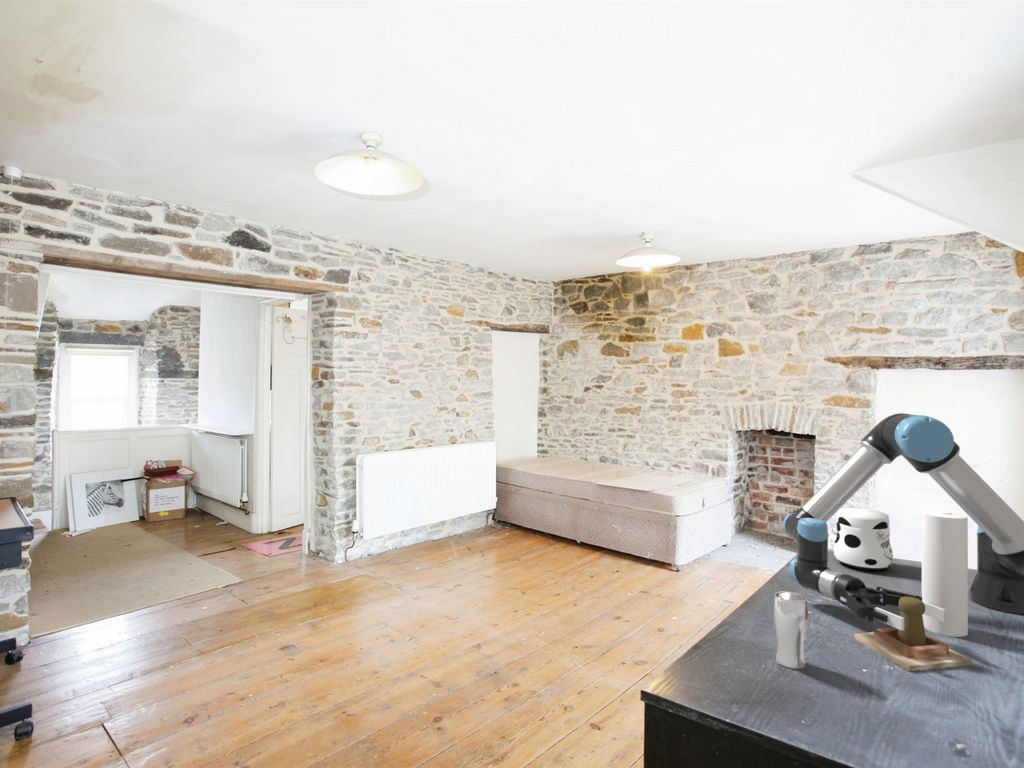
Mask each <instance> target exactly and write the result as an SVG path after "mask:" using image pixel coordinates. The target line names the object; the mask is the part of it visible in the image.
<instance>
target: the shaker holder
mask: <svg viewBox="0 0 1024 768" xmlns="http://www.w3.org/2000/svg"><path fill="white" fill-rule="evenodd" d="M897 635H898V629H897V628H895V627H892V626H891V627H883V628H876V630H873V631H870V632H860V633H859V632H858V633H857V632H856V633H853V639H854V640H856V641H858V642H859V643H861V644H862V645H864V646H866V647H868V648H869V649H870V650H873V651H874V652H876V653H878V655H880V656H882V657H884V658H885V659H888V660H889V659H890V660H889V661H891V660H892V661H891V662H893V661H894V662H895V664H896V663H897V665H898V664H899V665H901V666H902V667H901V666H900V667H901V668H903V667H904V668H906V669H907V670H906V669H905V670H906V671H908V670H909V671H910V672H916V671H915V670H920V671H928V670H929V671H930V670H938V669H939V670H940V669H947V668H946V667H951V668H959V667H968V666H969V667H970V666H972V665H973V660H972V659H971V658H969V657H967V656H965V655H963V654H961V653H959V652H957V651H955V650H953V649H951V648H950V645H949V644H947V643H945V642H943V641H942V640H939V639H937V638H935V637H933V636H931V635H929V634H928V633H925V636H926V642H927V646H916V647H909V646H907V645H905V644H903V643H901V642H900V641H898V640H897ZM894 662H893V663H894ZM899 665H898V666H899ZM904 668H903V669H904ZM909 671H908V672H909Z"/></svg>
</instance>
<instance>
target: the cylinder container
mask: <svg viewBox="0 0 1024 768" xmlns="http://www.w3.org/2000/svg"><path fill="white" fill-rule="evenodd" d="M920 515H921V519H920V520H921V597H922V601H923V602H926V603H928V604H931V605H934V606H937V607H939V608H942V609H945V610H946V621H945V622H943V621H940V620H938V619H935V618H932V617H930V616H927V615H925V614H923V615H922V616H923V622H924V629H926V630H928V631H929V632H932V633H936V634H938V635H941V634H942V636H945V637H946V636H947V637H954V638H962V637H966V636H968V634H969V591H968V590H969V585H968V583H969V574H968V571H969V565H968V564H969V563H968V562H969V560H968V559H969V557H968V556H969V555H968V554H969V548H968V547H969V545H968V544H969V542H968V541H969V537H968V535H969V532H968V531H969V529H968V528H969V527H968V526H969V523H968V521H969V519H968V516H969V515H968V514H966V513H962V512H957V511H952V510H945V509H943V510H942V509H922V510H921V513H920Z"/></svg>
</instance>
